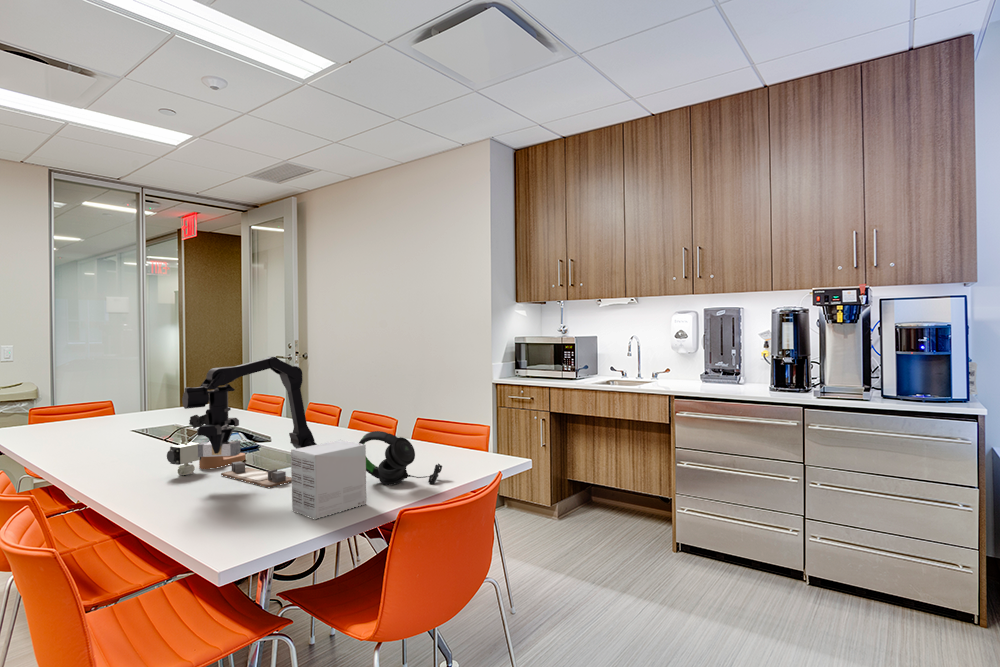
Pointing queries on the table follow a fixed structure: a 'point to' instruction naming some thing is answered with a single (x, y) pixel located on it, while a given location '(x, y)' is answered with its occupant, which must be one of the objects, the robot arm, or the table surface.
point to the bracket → (219, 461)
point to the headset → (394, 459)
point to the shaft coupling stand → (257, 475)
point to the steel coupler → (225, 450)
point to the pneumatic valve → (184, 457)
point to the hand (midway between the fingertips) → (219, 451)
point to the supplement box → (328, 478)
